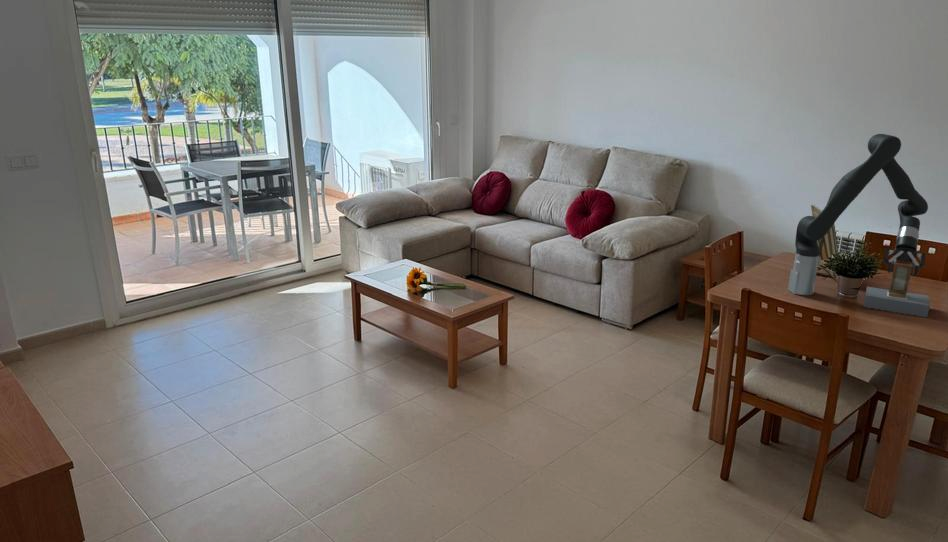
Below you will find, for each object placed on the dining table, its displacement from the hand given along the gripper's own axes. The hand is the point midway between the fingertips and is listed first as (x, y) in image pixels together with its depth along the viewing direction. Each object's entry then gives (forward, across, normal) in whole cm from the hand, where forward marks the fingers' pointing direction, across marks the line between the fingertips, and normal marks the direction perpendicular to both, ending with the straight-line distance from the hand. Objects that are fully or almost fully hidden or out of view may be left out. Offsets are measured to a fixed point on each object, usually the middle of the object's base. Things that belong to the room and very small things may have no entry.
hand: (901, 273), depth 273 cm
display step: (+10, 0, +10) cm, 14 cm away
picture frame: (-14, -31, +35) cm, 49 cm away
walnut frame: (+6, 0, +7) cm, 9 cm away
